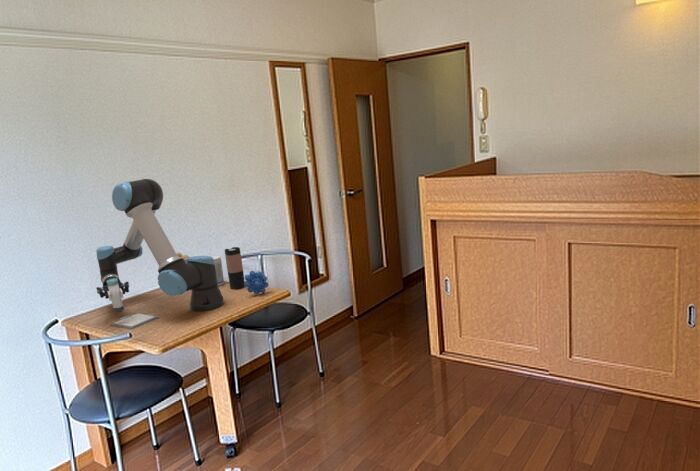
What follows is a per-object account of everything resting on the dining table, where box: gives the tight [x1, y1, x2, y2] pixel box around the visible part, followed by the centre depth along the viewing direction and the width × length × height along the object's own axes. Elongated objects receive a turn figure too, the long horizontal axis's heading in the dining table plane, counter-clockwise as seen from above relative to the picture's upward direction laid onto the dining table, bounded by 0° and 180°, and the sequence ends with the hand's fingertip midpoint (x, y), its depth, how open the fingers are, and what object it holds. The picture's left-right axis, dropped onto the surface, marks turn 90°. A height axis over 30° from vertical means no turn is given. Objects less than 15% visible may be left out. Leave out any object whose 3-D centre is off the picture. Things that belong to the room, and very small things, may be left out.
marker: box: [107, 278, 125, 314], centre depth 223 cm, size 4×4×14 cm
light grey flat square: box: [110, 312, 160, 330], centre depth 228 cm, size 14×14×1 cm
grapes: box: [244, 270, 269, 296], centre depth 247 cm, size 12×7×12 cm, turn 116°
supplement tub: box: [210, 255, 225, 287], centre depth 272 cm, size 10×10×15 cm
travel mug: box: [224, 246, 246, 291], centre depth 263 cm, size 8×8×20 cm
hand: (116, 296), depth 219 cm, fingers closed on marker, 4 cm apart
